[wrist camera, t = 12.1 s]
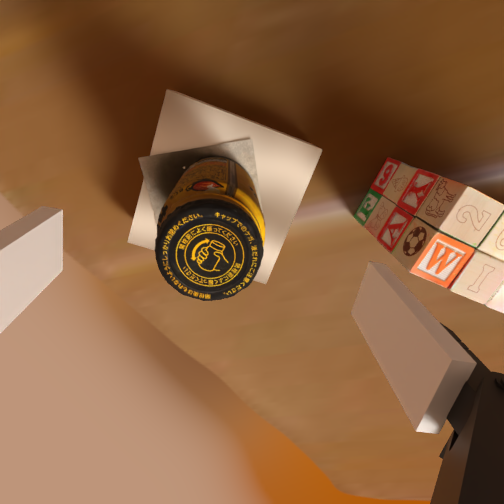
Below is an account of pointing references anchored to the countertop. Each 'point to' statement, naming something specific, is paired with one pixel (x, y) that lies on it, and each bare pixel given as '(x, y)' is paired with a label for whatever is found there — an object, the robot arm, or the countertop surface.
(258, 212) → the condiment
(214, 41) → the countertop surface
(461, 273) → the stack of blocks
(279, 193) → the birch block
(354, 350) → the countertop surface
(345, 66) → the countertop surface
